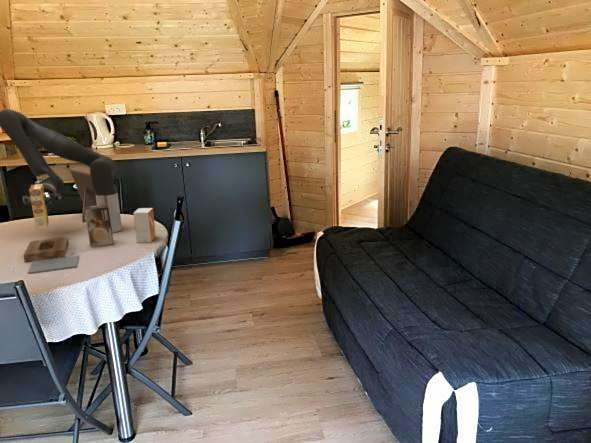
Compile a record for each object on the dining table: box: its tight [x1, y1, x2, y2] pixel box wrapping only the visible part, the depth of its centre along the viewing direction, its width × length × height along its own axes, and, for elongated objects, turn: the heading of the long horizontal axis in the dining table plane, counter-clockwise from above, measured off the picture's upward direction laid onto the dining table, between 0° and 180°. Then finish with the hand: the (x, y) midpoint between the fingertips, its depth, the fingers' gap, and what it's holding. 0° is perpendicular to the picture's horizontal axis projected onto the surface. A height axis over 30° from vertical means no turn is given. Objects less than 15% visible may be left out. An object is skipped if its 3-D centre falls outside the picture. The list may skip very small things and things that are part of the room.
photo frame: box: [69, 165, 97, 223], centre depth 239 cm, size 15×22×25 cm
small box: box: [132, 207, 157, 243], centre depth 203 cm, size 8×6×13 cm
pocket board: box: [23, 236, 70, 263], centre depth 191 cm, size 14×18×3 cm
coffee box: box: [84, 204, 115, 248], centre depth 198 cm, size 9×6×16 cm
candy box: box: [28, 183, 49, 230], centre depth 180 cm, size 9×4×15 cm, turn 24°
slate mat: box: [27, 255, 80, 275], centre depth 177 cm, size 16×12×1 cm
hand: (38, 203), depth 178 cm, fingers closed on candy box, 4 cm apart
